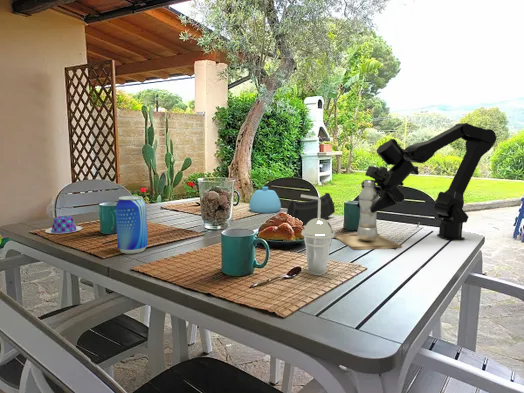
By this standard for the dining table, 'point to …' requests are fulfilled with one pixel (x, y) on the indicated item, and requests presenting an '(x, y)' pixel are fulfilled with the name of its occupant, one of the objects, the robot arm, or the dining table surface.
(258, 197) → the sugar bowl
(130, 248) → the beer can
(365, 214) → the plastic bottle
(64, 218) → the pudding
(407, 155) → the robot arm
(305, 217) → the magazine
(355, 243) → the mat
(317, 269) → the cup with straw
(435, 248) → the dining table surface
